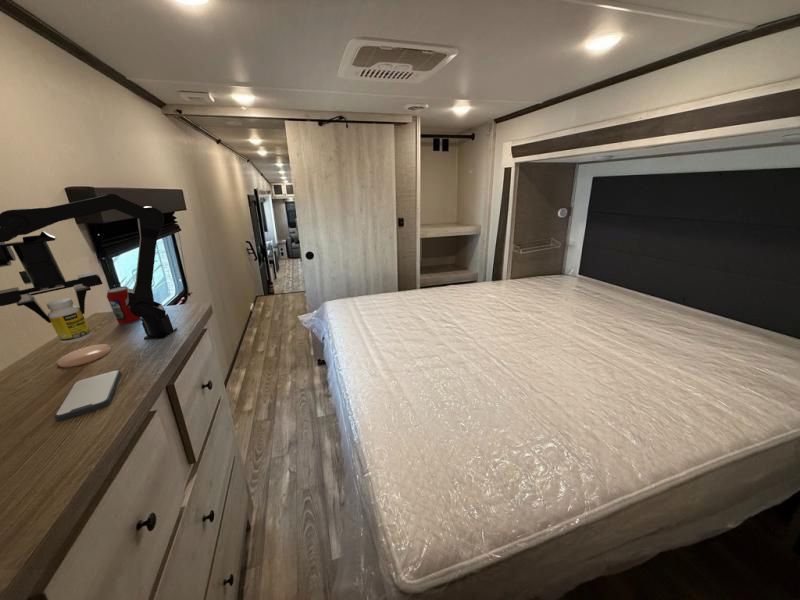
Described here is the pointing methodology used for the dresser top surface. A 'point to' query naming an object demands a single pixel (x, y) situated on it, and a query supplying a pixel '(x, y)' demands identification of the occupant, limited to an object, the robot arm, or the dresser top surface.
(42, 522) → the dresser top surface
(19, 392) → the dresser top surface
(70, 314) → the pill bottle
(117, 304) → the beverage can
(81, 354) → the tan round disc
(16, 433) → the dresser top surface
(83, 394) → the phone case
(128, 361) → the dresser top surface
